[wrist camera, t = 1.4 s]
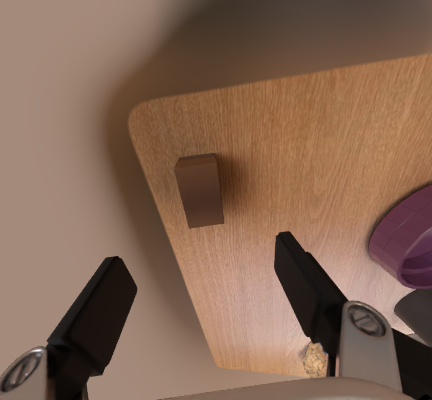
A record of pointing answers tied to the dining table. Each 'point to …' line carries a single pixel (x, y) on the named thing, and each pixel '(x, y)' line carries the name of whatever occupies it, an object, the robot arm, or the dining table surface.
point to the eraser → (200, 190)
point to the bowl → (406, 241)
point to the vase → (417, 313)
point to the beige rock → (315, 361)
